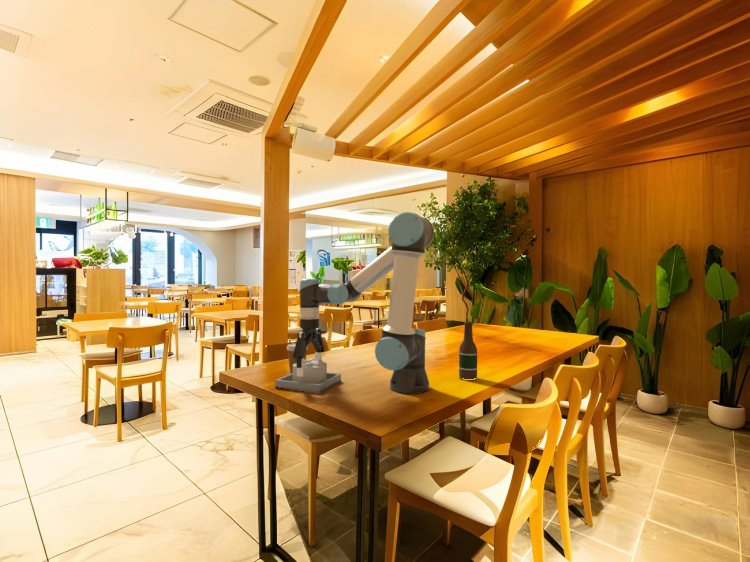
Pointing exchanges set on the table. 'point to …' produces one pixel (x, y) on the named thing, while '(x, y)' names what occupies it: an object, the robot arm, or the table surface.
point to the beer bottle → (468, 354)
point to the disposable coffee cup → (290, 355)
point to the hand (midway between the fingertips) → (309, 372)
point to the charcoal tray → (307, 387)
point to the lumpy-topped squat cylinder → (311, 372)
